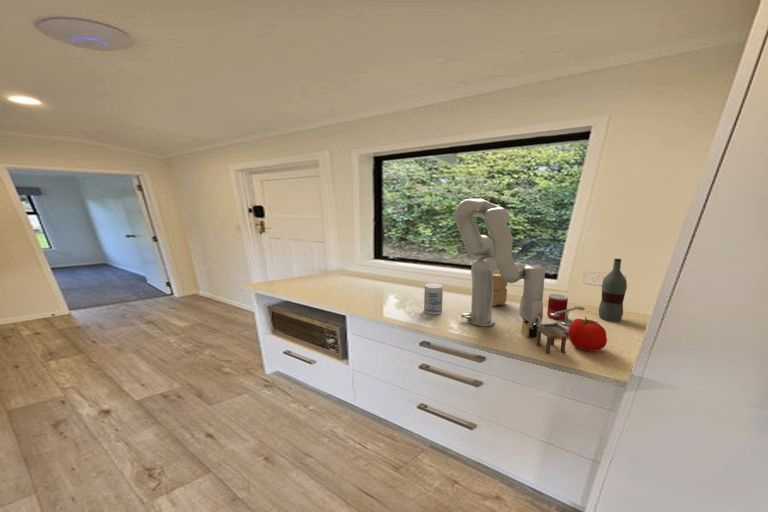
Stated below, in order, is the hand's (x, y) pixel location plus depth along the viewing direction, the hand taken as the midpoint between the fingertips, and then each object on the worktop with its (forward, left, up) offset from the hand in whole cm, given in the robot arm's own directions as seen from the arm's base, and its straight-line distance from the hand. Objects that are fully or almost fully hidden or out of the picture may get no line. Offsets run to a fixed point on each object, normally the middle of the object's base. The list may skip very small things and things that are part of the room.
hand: (529, 334), depth 122 cm
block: (-1, 0, 0) cm, 1 cm away
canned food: (+24, +16, -1) cm, 29 cm away
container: (+3, +39, 0) cm, 39 cm away
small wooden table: (+1, -12, 0) cm, 12 cm away
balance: (+23, +8, 0) cm, 24 cm away
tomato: (+15, -13, -1) cm, 20 cm away
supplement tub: (-35, +31, 0) cm, 47 cm away
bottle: (+48, +11, 0) cm, 49 cm away
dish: (+12, +1, 0) cm, 12 cm away
